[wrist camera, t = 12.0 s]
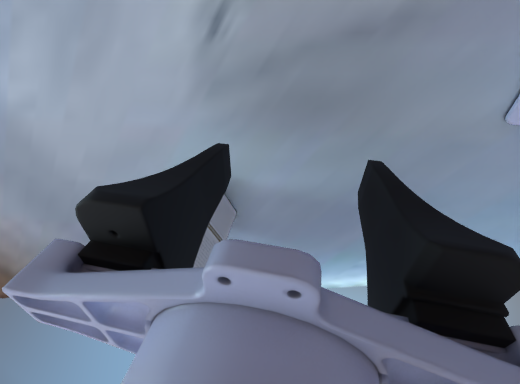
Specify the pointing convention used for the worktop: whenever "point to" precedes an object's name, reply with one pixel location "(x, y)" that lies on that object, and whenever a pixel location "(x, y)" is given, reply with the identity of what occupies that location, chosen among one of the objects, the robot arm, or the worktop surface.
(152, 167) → the worktop surface
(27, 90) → the worktop surface
